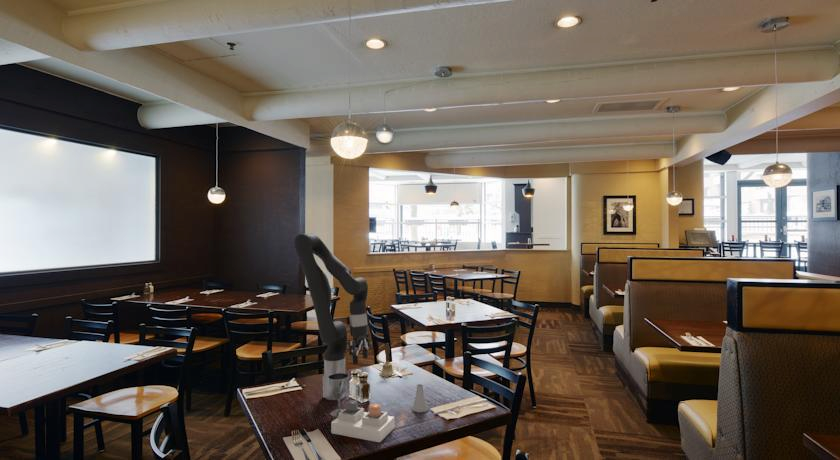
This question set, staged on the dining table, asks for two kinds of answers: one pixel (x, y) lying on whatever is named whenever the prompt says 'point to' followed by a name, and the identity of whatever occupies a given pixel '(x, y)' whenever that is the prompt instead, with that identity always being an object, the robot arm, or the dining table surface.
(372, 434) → the console
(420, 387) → the flask
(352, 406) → the charcoal button
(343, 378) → the wine glass
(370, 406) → the terracotta button
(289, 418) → the dining table surface
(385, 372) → the hand bell
